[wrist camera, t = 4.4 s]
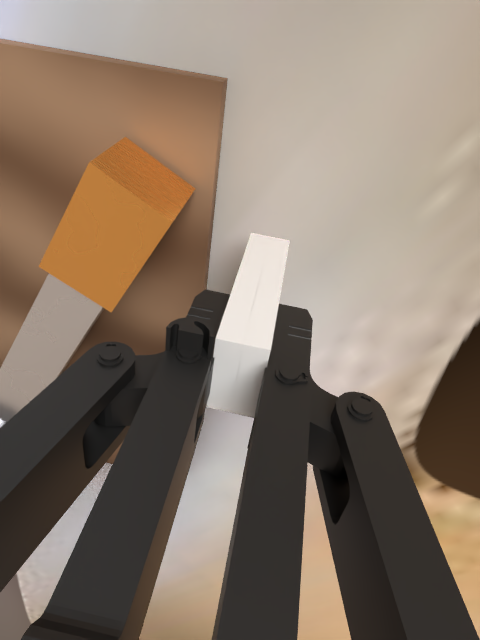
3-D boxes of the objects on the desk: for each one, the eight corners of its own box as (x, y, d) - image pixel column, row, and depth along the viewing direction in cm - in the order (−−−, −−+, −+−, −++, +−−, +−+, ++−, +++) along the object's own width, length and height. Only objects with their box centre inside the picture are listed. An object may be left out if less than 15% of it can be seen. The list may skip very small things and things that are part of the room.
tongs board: (188, 470, 31) (169, 532, 27) (-62, 414, 32) (-110, 466, 28) (227, 78, 16) (198, 102, 13) (-232, -2, 17) (-375, 0, 14)
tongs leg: (42, 432, 29) (6, 486, 26) (-22, 397, 28) (-67, 449, 25) (208, 196, 18) (182, 241, 15) (112, 125, 17) (61, 157, 14)
